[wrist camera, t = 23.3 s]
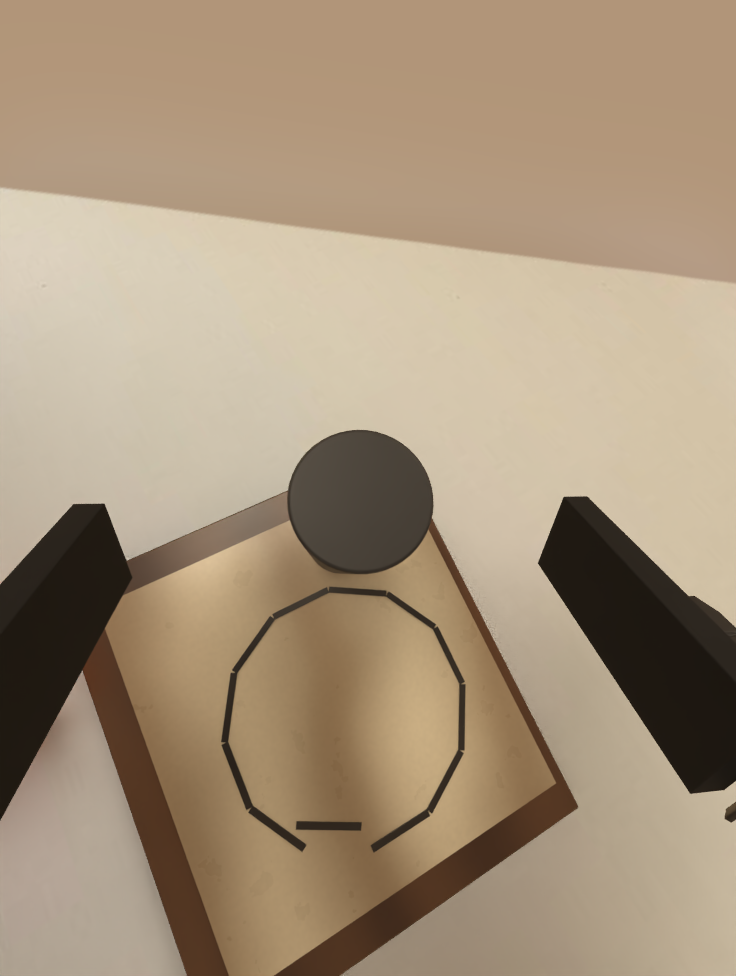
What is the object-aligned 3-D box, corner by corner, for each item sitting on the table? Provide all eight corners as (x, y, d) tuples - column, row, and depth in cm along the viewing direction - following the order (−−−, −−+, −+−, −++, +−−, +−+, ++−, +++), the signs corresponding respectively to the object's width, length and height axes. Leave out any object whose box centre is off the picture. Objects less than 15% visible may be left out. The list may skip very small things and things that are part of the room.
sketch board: (220, 1045, 16) (215, 1068, 15) (63, 591, 19) (52, 592, 18) (571, 800, 19) (581, 809, 19) (392, 447, 22) (394, 442, 22)
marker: (324, 584, 20) (325, 601, 8) (298, 526, 20) (262, 462, 8) (381, 556, 20) (459, 533, 9) (354, 501, 21) (394, 407, 9)
